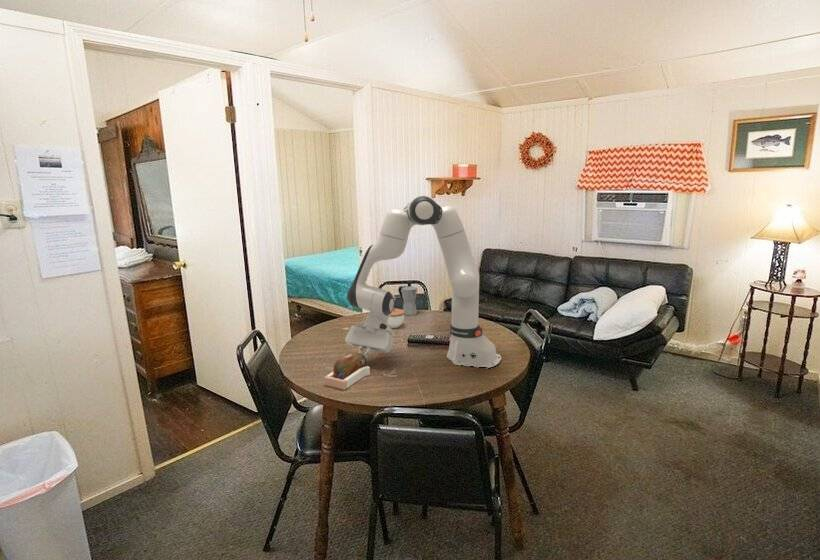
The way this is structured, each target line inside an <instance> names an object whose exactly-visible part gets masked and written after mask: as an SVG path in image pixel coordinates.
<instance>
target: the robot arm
mask: <svg viewBox="0 0 820 560" xmlns="http://www.w3.org/2000/svg"><path fill="white" fill-rule="evenodd" d="M417 225H418V226H426V225H431V226H432V228H434V230H435V231H434V232H435V234H436V237H437V240H438V243H439V246H440V250H441V253H442V256H443V260H444V263H445V269H446V271H447V275H448V278H449V282H450V286H451V288H452V292H451V311H450V312H451V316H450V317H451V323H450V326H449V337H450V339H449V340H450V341H449V346H448V351H447V354H446V358H447V359H448V360H450V361H451V362H452V364H453V365H455V366H461V365H463V366H464V367H470V366H474V367H473V368H479V367H488V368H489V367H493V366H495V365H497V364H498V363H499V362H500V360H501V361H502V356H501V355H500V354H499V353H497V349H496V345H495V344H494V343H493V342H492V341H491V340H490V339H488V338H487V337H486V336H485V335H484V334H483V332H484V331H483V330H484V326H482V327H481V326H480V324H479V301H480V272H479V269H478V268H477V267H476V265H475V261H474V257H473V254H472V250H471V247H470V246H471V245H470V243H469V239H468V237H467V234H466V231H465V227H464V225H463V221H462V219H461V217H460V215H459V214H458V212H457V210H456V208H455V207H453V206H450V205H444V206H440V205H439V204H438V203H437V202H436V201H435V200H434V199H433V198H431V197H430V196H427V195H421V196H416V197H414V198H412V199H411V200H410V201H409V203H408V204H407V205H406V206H405V207H404V208H403V209H401V208H393V209H390V210H388V212H387V213H386V214H385V217H384V221H383V223H382V226H381V228H380V229H381V230H380V232H379V233H380V234H379V236H378V239H377V241H376V242H375V243H374V244H371V245H370V246H369V247H368V248H367V250H366V252H365V253H364V256H363V257H362V260H361V262H360V265H359V267H358V269H357V272H356V274H355V277H354V280H353V281H352V283H351V285H350V286H349V288H348V290H347V295H346V299H347V301H348V304H349V305H350V306H351V307H352V308H356V309H363V310H366V311H369V313H368V314H367V316H366V319H365V320H364V323H363V325H362V324H358V323H355V324H354V325H351V327H350V329H349V331H348V332H347V333H346V336H345V338H344V341H345V343H346V344H347V345H348V346H352V347H355V348H358V353H362V354H363V355H364V356H365V358H366V359H367V357H368V356H369V355H370V354H371V353H372V352H373V351H376V352H381V353H387V354H388V353H389V352H391V349H392V347H393V343H394V337H395V335H396V334H395V331H394V330H393V328H390V327H389V326H388V325H387V320H388V318H389V317H390V315H391V313H392V310H393V308H395V301H396V295H395V294H394V293H393V291H391V290H388V289H383V288H381V287H377V286H376V287H375V286H371V285H367V284H366V281H367V279H368V277H369V274H370V272H371V269H372V268H373V266H374V265H375V264H376V263H377V262H381V261H388V260H393V259H398V258H400V256H401V255H403V254H404V252H405V250H406V248H407V247H406V246H407V243H408V239H409V235H410V232H411V229H412V227H414V226H417ZM365 349H366V351H365ZM363 351H364V352H363ZM498 357H500V358H498ZM500 363H501V362H500ZM463 366H462V367H463ZM488 368H487V369H488Z"/></svg>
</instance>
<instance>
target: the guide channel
mask: <svg viewBox="0 0 820 560" xmlns="http://www.w3.org/2000/svg"><path fill="white" fill-rule="evenodd" d="M370 375H371V367H370V366H368V365H366V366H365V367H363V368H360V369H358V370H357V371H356V372H354V373H353V374H351V375H350V376H348V377H347V378H345V379H344V380H342V379H338V378H335V377H334V373H333V371H332V372H330V373H329V374H327V375H326V376H324V377H323V385H324V386H328V387H331V388H335V389H339V390H344V391H346V390H347V389H348V388H350V387H351V386H353V385H354V384H356V382H358V381H359V380H362V378H364V377H367V376H370Z"/></svg>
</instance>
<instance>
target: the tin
mask: <svg viewBox="0 0 820 560" xmlns="http://www.w3.org/2000/svg"><path fill="white" fill-rule="evenodd" d="M362 353H363V352H362ZM362 353H359V352H353V353H349V354H347V355H345V356H343V357H340V358H339V359H337V360H336V361H335V363H334V365H333V368H332V372H333V373H334V377H335V378H338V379H342V380H344V379H345V378H347V377H348V376H350V375H351V374H353V373H354V372H356V371H357V370H358V369H360V368H363V367H367V357H366V358H365V356H364V355H363V354H362Z"/></svg>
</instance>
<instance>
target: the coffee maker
mask: <svg viewBox="0 0 820 560" xmlns="http://www.w3.org/2000/svg"><path fill="white" fill-rule="evenodd" d="M406 284H407V285H403V286H398V289H397V291H398V294H399V296H400V299H401V300H403V305H402V310H404V312H405V313H404V316H408V317H410V316H415V315H417V314H418V313H417V307H416V299H417V294H418V287H416V286H412V281H407V282H406Z"/></svg>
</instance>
